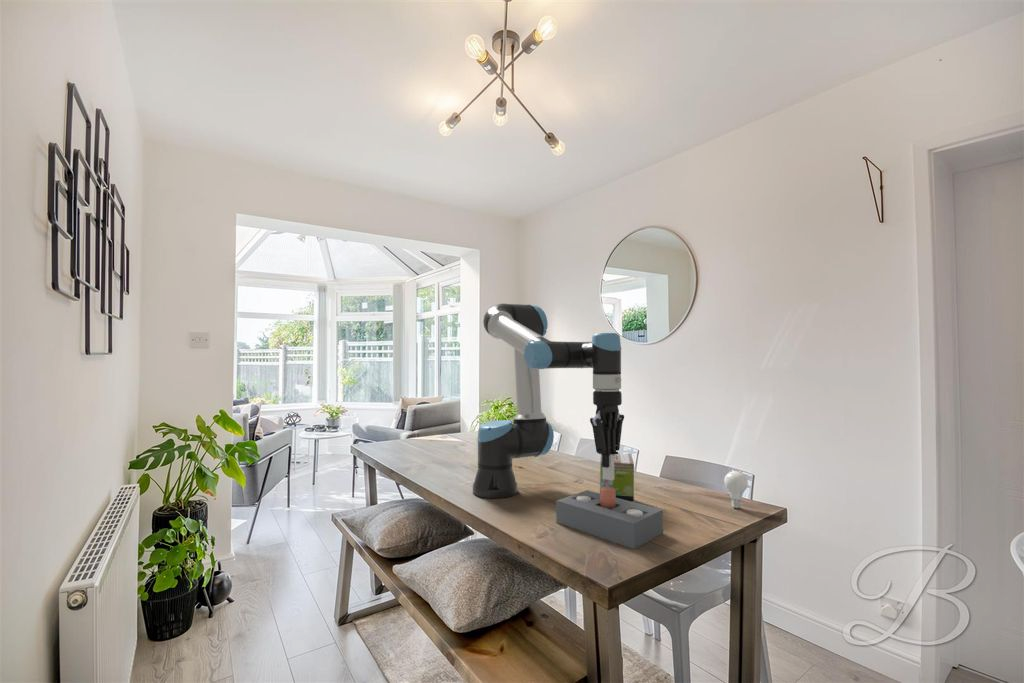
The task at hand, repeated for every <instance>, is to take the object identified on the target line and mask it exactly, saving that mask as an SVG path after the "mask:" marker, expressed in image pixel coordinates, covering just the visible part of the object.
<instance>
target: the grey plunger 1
mask: <svg viewBox="0 0 1024 683" xmlns="http://www.w3.org/2000/svg"><path fill="white" fill-rule="evenodd" d="M576 500H579V501H583V502H588V501H590V500H591V498H590V497H588V496H577V497H576Z"/></svg>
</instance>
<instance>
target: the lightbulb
mask: <svg viewBox="0 0 1024 683" xmlns="http://www.w3.org/2000/svg"><path fill="white" fill-rule="evenodd" d="M724 485H725V487H726V489H727V491H728V492H729V497H730V499H731V500H730V502H731V507H732V508H734V509H735V510H736V509H740V508H742V498H743V495H744V493H745V491H746V490H747V488H748V485H749V481H748V478H747V477H746V475H745V474H744V473H742V472H741V471H737V470H732V471H731V470H730V471H729V472H727V474H725V476H724Z"/></svg>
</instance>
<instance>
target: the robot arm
mask: <svg viewBox="0 0 1024 683" xmlns="http://www.w3.org/2000/svg"><path fill="white" fill-rule="evenodd" d="M482 323H483V327H484V330H485V331H486V333H487V334H489V335H490V336H491V337H492V338H494V339H497V340H502V341H503V342H505V343H506V344H507V345H509V346H511V347H512V348H513V349H514V353H513V354H514V368H515V370H514V371H515V373H514V374H515V394H516V414H515V416H514V417H513V421H511V420H508V419H505V420H504V419H501V420H493V421H488V422H484V423H482V424H481V425H480V426H479V428H478V433H477V471H476V474H475V478H474V481H473V484H472V494H473V495H474V496H477V497H480V498H486V499H502V498H508V497H512V496H515V495H517V493H518V483H517V482H516V477H515V473H514V470H513V459H522V458H529V457H539V456H543V455H546V454H548V453H549V452H550V450H551V449H552V447H553V444H554V438H555V437H554V436H555V434H554V428H552V427H553V426H552V425H551V423H550V422H548V421H547V417H546V416H545V414H543V413H542V402H541V400H542V399H541V398H542V397H541V396H542V395H541V384H540V383H541V382H540V381H541V379H540V377H541V376H540V370H544V369H549V370H550V369H592V389H593V390H594V391H593V392H592V395H593V396H592V403H593V405H594V406H596V410H595V416H594V417H590V419H589V422H590V424H591V426H592V432H593V437H594V438H593V439H594V444H595V446H594V447H595V450H596V453H597V454H599V455H601V454H602V467H603V479H607V480H614V454H618V453H619V451H620V447H621V440H622V439H621V437H622V429H623V422H624V419H625V415H624V414H620V411H619V406H621V405H622V403H623V401H622V400H623V399H622V396H623V395H622V391H620V390H621V389H622V345H621V344H622V343H621V337H620V336H621V335H619V333H616V332H597V333H593V335H592V339H591V341H551V340H549V339H547V338H546V337H544V336H545V335H546V334H547V330H548V326H549V325H548V318H547V315H546V312H545V311H544V310H543V308H541V307H540V306H538V305H532V304H520V303H519V304H516V303H515V304H514V303H498V304H495V305H493V306H491V307H490V308H488V310H486V312H485V314H484V315H483V322H482Z"/></svg>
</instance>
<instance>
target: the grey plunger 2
mask: <svg viewBox="0 0 1024 683" xmlns="http://www.w3.org/2000/svg"><path fill="white" fill-rule="evenodd" d="M626 513H627V514H629V515H632V516H636V517H640V516H642V515H643V512H642V511H640V510H636V509H629V510H627V511H626Z"/></svg>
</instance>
